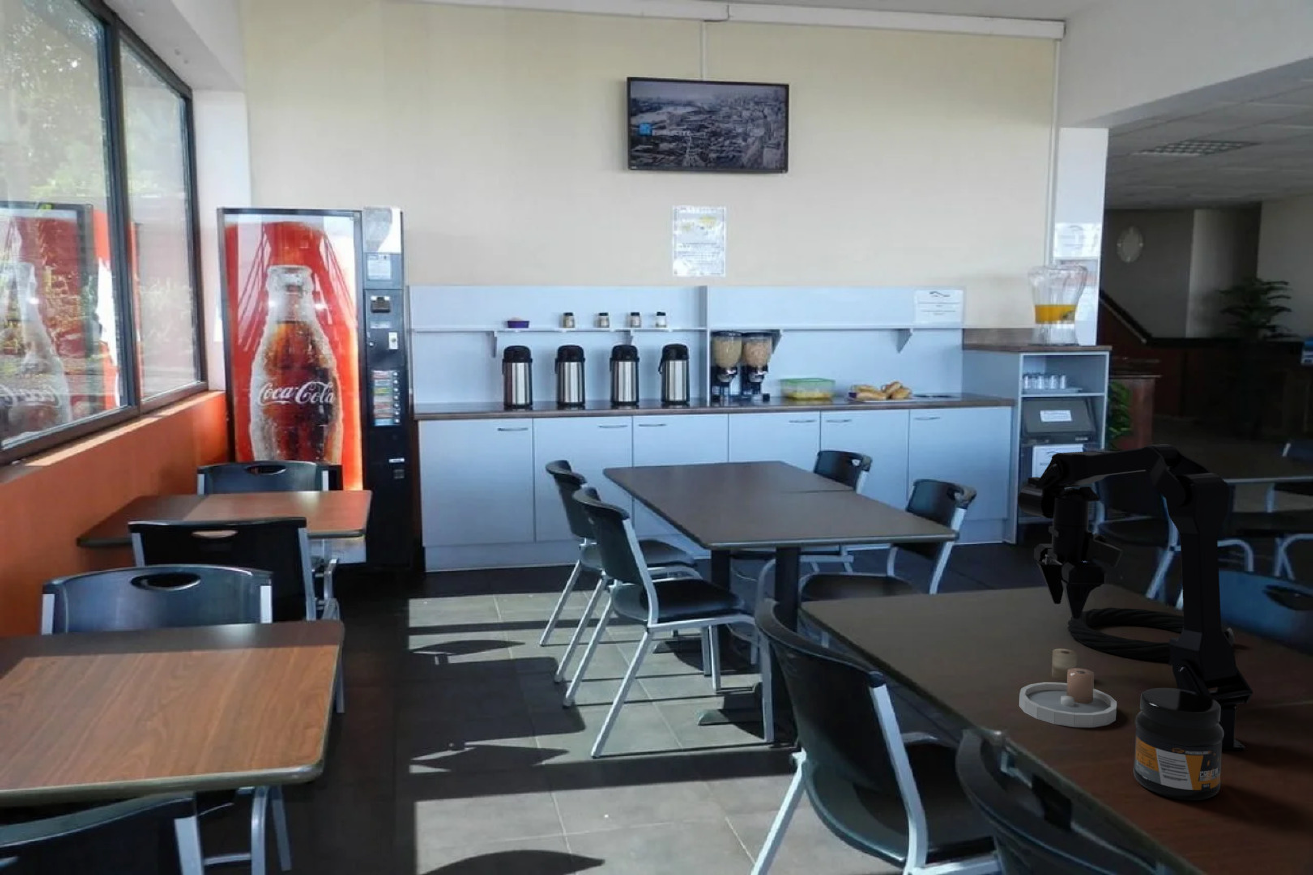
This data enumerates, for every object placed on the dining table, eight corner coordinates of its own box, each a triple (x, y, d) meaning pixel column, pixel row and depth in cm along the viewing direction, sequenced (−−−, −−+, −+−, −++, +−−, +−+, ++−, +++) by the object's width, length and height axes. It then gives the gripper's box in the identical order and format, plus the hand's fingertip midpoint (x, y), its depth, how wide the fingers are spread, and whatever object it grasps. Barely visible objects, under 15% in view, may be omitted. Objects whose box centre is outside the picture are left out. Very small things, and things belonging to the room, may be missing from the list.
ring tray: (1131, 728, 156) (1131, 715, 156) (1036, 726, 157) (1036, 714, 157) (1095, 694, 170) (1096, 683, 170) (1008, 693, 171) (1009, 681, 171)
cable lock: (1056, 602, 216) (1208, 609, 210) (1055, 619, 216) (1207, 627, 210) (1083, 640, 189) (1259, 650, 183) (1082, 660, 189) (1258, 670, 183)
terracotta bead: (1097, 699, 165) (1099, 672, 165) (1084, 705, 163) (1085, 677, 162) (1074, 692, 168) (1076, 666, 168) (1061, 698, 166) (1062, 671, 166)
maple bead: (1079, 681, 177) (1080, 655, 177) (1056, 680, 177) (1057, 655, 177) (1071, 673, 181) (1072, 648, 181) (1048, 673, 181) (1049, 648, 181)
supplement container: (1170, 807, 130) (1175, 717, 129) (1115, 773, 140) (1119, 689, 139) (1239, 798, 133) (1244, 710, 131) (1180, 765, 143) (1184, 683, 142)
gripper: (1140, 535, 166) (1135, 627, 168) (1096, 514, 185) (1092, 597, 187) (1071, 534, 167) (1067, 626, 169) (1034, 513, 185) (1031, 596, 187)
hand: (1066, 611), depth 178 cm, fingers open, 9 cm apart
